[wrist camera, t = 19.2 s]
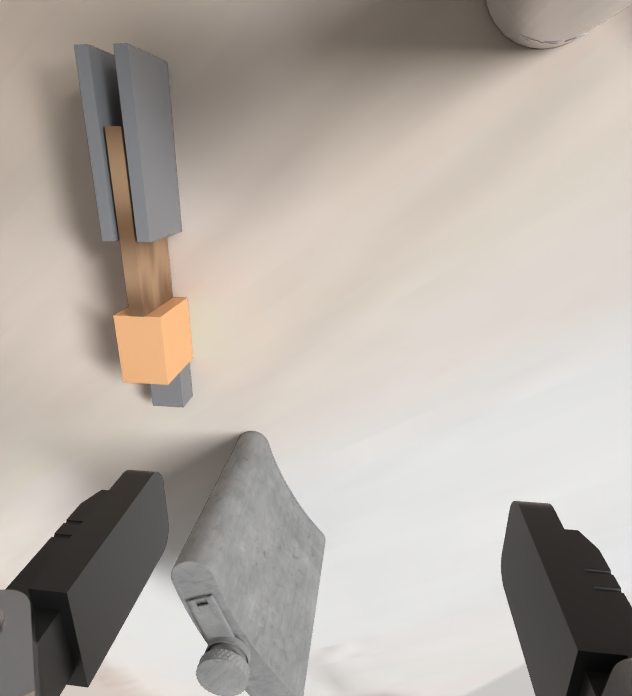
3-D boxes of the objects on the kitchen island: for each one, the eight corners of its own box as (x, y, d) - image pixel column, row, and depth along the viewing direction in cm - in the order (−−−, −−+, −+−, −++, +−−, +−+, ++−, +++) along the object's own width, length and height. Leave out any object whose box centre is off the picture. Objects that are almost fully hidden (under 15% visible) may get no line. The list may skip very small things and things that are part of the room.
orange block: (145, 296, 46) (113, 315, 40) (187, 297, 45) (160, 317, 40) (153, 356, 48) (123, 382, 42) (192, 358, 47) (168, 384, 42)
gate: (142, 131, 40) (104, 126, 35) (156, 131, 40) (120, 126, 35) (160, 297, 45) (129, 316, 40) (172, 298, 45) (143, 316, 40)
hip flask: (330, 545, 53) (304, 749, 35) (297, 556, 54) (255, 760, 36) (259, 426, 49) (186, 586, 31) (225, 440, 50) (135, 602, 32)
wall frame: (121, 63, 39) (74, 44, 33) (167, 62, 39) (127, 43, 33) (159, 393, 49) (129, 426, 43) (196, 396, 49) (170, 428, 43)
